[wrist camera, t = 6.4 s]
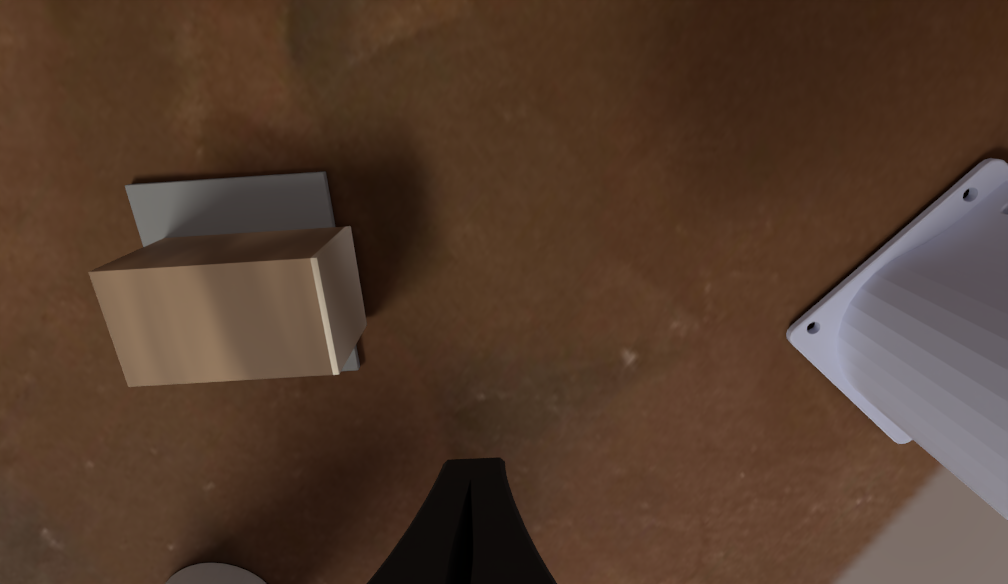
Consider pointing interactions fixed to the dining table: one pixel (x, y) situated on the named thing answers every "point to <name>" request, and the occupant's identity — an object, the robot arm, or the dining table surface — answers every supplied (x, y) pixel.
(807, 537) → the dining table surface
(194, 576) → the coffee cup
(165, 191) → the slate mat
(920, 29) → the dining table surface
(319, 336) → the walnut block
